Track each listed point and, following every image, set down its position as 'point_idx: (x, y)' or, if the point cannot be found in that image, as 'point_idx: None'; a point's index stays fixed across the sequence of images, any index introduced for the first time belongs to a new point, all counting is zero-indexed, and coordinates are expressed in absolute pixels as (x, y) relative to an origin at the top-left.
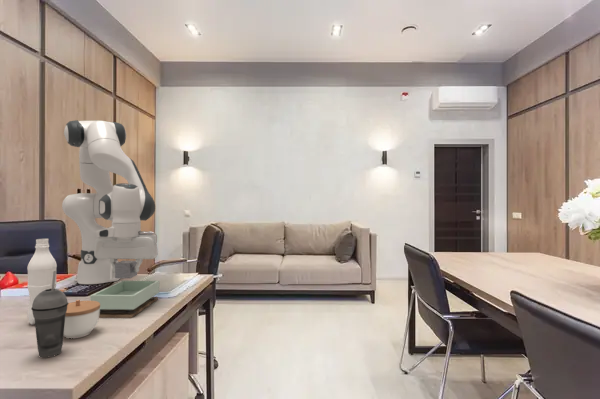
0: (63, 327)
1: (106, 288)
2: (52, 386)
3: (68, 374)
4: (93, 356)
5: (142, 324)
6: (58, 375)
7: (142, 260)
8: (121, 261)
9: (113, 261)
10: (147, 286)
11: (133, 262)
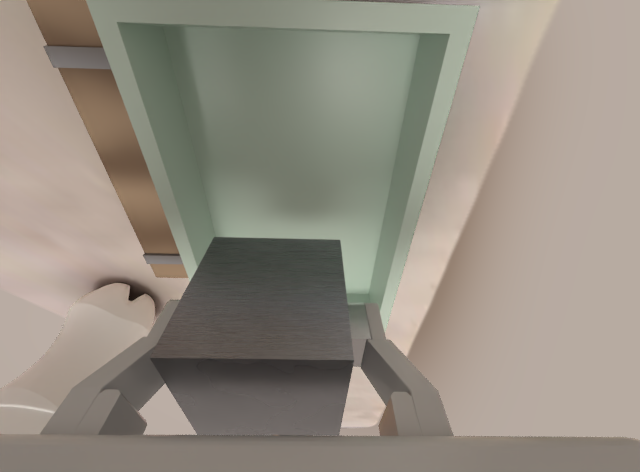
0: (312, 435)
1: (184, 249)
2: (355, 426)
3: (358, 416)
4: (366, 394)
5: (409, 309)
6: (347, 417)
7: (440, 402)
8: (183, 390)
9: (137, 428)
10: (407, 211)
11: (344, 403)
